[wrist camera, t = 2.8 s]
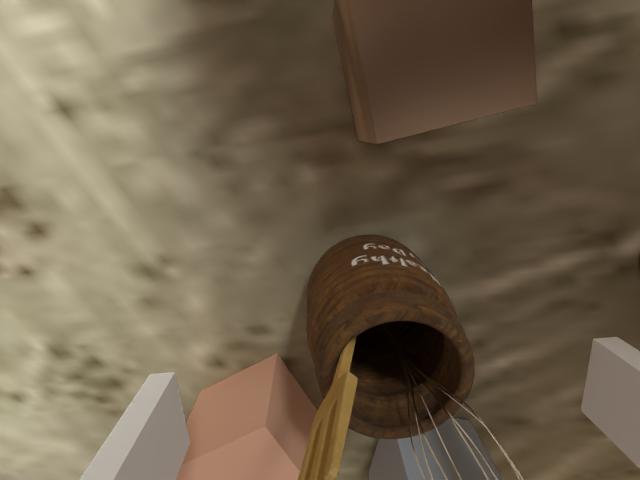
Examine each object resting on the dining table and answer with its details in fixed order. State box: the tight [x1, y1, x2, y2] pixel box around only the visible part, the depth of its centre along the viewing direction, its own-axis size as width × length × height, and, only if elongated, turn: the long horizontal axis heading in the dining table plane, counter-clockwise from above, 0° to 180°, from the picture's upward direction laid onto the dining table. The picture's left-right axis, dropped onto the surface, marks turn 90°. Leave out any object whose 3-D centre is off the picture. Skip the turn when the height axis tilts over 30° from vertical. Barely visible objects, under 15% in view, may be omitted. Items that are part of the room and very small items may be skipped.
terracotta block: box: [176, 353, 317, 480], centre depth 17 cm, size 5×5×5 cm
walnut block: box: [332, 0, 537, 144], centre depth 12 cm, size 5×5×5 cm
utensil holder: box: [298, 235, 524, 480], centre depth 12 cm, size 6×6×12 cm
